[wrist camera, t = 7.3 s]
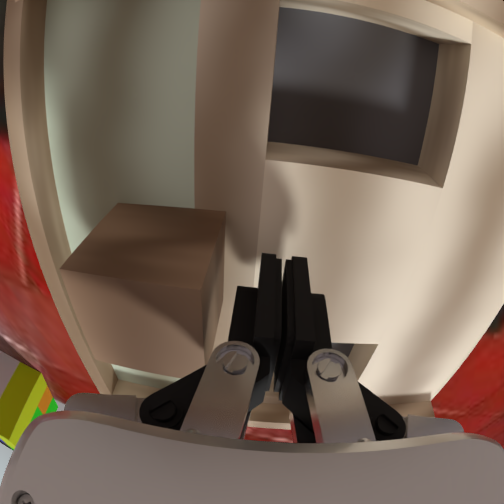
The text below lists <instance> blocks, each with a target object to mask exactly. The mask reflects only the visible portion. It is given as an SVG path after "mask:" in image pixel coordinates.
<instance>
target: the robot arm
mask: <svg viewBox="0 0 504 504" xmlns="http://www.w3.org/2000/svg"><path fill="white" fill-rule="evenodd" d="M273 373H274V387H273V391H274V392H279V400H280V401H282V404H283V405H284V406H285V407H286V408H287V409H289V419H290V425H291V432H292V438H293V443H281V442H264V441H252V440H244V436H245V433H246V429H247V426H248V422H249V419H250V415H251V411H252V410H253V409H254V408H255V407H257V406H258V405H260V404H261V403H263V401H264V396H265V392H266V391H269V390H270V386H271V381H272V377H273ZM0 504H504V449H503V448H502V446H501V445H500V444H499V443H498V442H497V441H495V440H493V439H491V438H489V437H486V436H483V435H479V434H473V433H464V430H463V428H462V426H461V425H460V424H459V423H458V422H457V421H454V420H451V419H441V418H432V417H424V416H416V415H409V414H408V415H407V416H406V417H404V416H401V415H400V414H399V413H398V412H397V411H396V410H395V409H394V408H392V407H391V406H390V405H388V404H387V403H386V402H384V401H383V400H382V399H380V398H379V397H378V396H376V395H375V394H374V393H372V392H371V391H370V390H369V389H367V388H366V387H365V386H363V385H362V384H361V383H359V382H358V381H357V378H356V375H355V372H354V369H353V366H352V363H351V362H350V360H349V358H348V357H347V356H346V355H345V354H343V353H341V352H340V351H337V350H334V349H332V343H331V335H330V328H329V320H328V313H327V306H326V300H325V295H324V294H316V293H311V288H310V279H309V270H308V261H307V258H306V257H297V256H292V258H291V260H288V259H286V261H285V267H284V273H283V279H282V259H279V258H276V254H268V253H262V255H261V264H260V272H259V281H258V288H255V287H245V286H237V290H236V296H235V301H234V307H233V313H232V319H231V325H230V330H229V336H228V341H227V342H224V343H222V344H220V345H218V346H217V347H216V348H215V349H214V350H213V352H212V353H211V356H210V358H209V361H208V363H207V365H205V366H203V367H201V368H200V369H198V370H196V371H194V372H192V373H190V374H189V375H187V376H185V377H183V378H181V379H179V380H177V381H176V382H174V383H172V384H170V385H168V386H166V387H164V388H162V389H160V390H158V391H157V392H155V393H153V394H151V395H149V396H148V397H147V398H137V397H136V395H111V394H93V393H78V394H75V395H73V396H71V397H70V398H69V400H68V401H67V402H66V405H65V408H64V411H57V412H51V413H46V414H43V415H40V416H38V417H37V418H35V419H34V420H33V421H32V422H31V423H30V424H29V425H28V426H27V428H26V429H25V430H24V432H23V434H22V435H21V437H20V439H19V441H18V442H17V445H16V447H15V449H14V451H13V453H12V456H11V458H10V460H9V463H8V466H7V468H6V471H5V474H4V476H3V479H2V483H1V486H0Z"/></svg>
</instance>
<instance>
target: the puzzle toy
mask: <svg viewBox="0 0 504 504" xmlns="http://www.w3.org/2000/svg"><path fill="white" fill-rule="evenodd" d="M57 408H58V406H57V404H56V402H55V400H54V399H53V397H52V395H51V393H50V391H49V388H48V386H47V384H46V382H45V380H44V378H43V376H42V374H41V373H40V372H38V371H36V370H35V369H33V368H31V367H29V366H27V365H25V364H23V363H21V362H20V361H18V360H16V359H14V358H12V357H11V356H9V355H7V354H5V353H4V352H2V351H0V442H1V443H2V444H4V445H5V446H7V447H8V448H10V449H12V450H13V451H14V449H15V447H16V445H17V442H18V441H19V439H20V437H21V435H22V434H23V432H24V430H25V429H26V428H27V426H28V425H29V424H30V423H31V422H32V421H33V420H34V419H35V418H37V417H38V416H40V415H43V414H46V413H51V412H56V410H57Z"/></svg>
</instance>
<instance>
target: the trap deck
mask: <svg viewBox="0 0 504 504" xmlns="http://www.w3.org/2000/svg"><path fill="white" fill-rule="evenodd" d="M4 90H5V105H6V116H7V125H8V133H9V141H10V148H11V154H12V160H13V165H14V171H15V176H16V181H17V185H18V190H19V194H20V198H21V203H22V207H23V210H24V214H25V218H26V222H27V225H28V229H29V232H30V236H31V239H32V242H33V245H34V248H35V251H36V254H37V257H38V260H39V263H40V266H41V269H42V272H43V274H44V277H45V280H46V282H47V285H48V288H49V290H50V293H51V295H52V298H53V300H54V303H55V305H56V307H57V310H58V312H59V314H60V317H61V319H62V321H63V323H64V325H65V328H66V330H67V332H68V334H69V336H70V338H71V340H72V342H73V344H74V346H75V348H76V350H77V352H78V354H79V356H80V358H81V360H82V362H83V364H84V366H85V368H86V369H87V371H88V373H89V375H90V377H91V378H92V380H93V382H94V384H95V385H96V387H97V389H98V391H99V392H100V394H111V395H136V397H137V398H147V397H148V396H149V395H151V394H153V393H155V392H157V391H158V390H160V389H162V388H164V387H166V386H168V385H170V384H172V383H174V382H176V381H177V380H179V379H181V378H175V377H170V376H164V375H159V374H154V373H149V372H144V371H140V370H135V369H131V368H126V367H122V366H118V365H114V364H110V363H106V362H102V361H98V360H95V358H94V356H93V354H92V351H91V349H90V347H89V345H88V343H87V340H86V338H85V336H84V333H83V331H82V329H81V326H80V324H79V321H78V319H77V317H76V314H75V311H74V309H73V306H72V304H71V301H70V298H69V296H68V293H67V290H66V287H65V284H64V282H63V279H62V276H61V273H60V270H59V268H60V267H61V266H62V265H63V264H64V262H65V261H66V260H67V259H68V258H69V256H70V255H71V254H72V253H73V252H74V250H75V249H76V248H77V247H78V246H79V245H80V244H81V242H82V241H83V240H84V239H85V238H86V237H87V236H88V234H89V233H90V232H91V231H92V230H93V229H94V228H95V227H96V226H97V224H98V223H99V222H100V221H101V220H102V219H103V218H104V217H105V216H106V215H107V214H108V213H109V212H110V211H111V210H112V208H113V207H114V206H115V205H116V204H117V203H127V204H142V205H156V206H169V207H182V208H194V209H205V210H217V211H226V226H225V255H224V291H223V304H222V308H221V313H220V318H219V322H218V327H217V332H216V337H215V341H214V346H213V350H214V349H215V348H216V347H217V346H218V345H220V344H222V343H224V342H227V341H228V336H229V330H230V325H231V319H232V313H233V307H234V301H235V296H236V290H237V286H245V287H255V288H258V281H259V272H260V264H261V255H262V253H268V254H276V258H279V259H282V279H283V273H284V267H285V261H286V259H288V260H291V258H292V256H297V257H306V258H307V261H308V270H309V279H310V288H311V293H316V294H324V295H325V300H326V306H327V313H328V320H329V328H330V335H331V343H332V349H334V350H337V351H340V352H341V353H343V354H345V355H346V356H347V357H348V358H349V360H350V362H351V363H352V366H353V369H354V372H355V375H356V378H357V381H358V382H359V383H361V384H362V385H363V386H365V387H366V388H367V389H369V390H370V391H371V392H372V393H374V394H375V395H376V396H378V397H379V398H380V399H382V400H383V401H384V402H386V403H387V404H388V405H390V406H391V407H392V408H394V409H395V410H396V411H397V412H398V413H399V414H400V415H401V416H404V417H406V416H407V415H408V414H409V415H416V416H424V417H432V418H434V417H435V416H434V412H433V408H432V404H431V400H432V399H433V398H434V397H435V395H436V394H437V393H438V392H439V391H440V390H441V389H442V387H443V386H444V385H445V384H446V383H447V382H448V380H449V379H450V378H451V377H452V376H453V374H454V373H455V372H456V371H457V369H458V368H459V367H460V366H461V364H462V363H463V362H464V361H465V359H466V358H467V357H468V355H469V354H470V353H471V351H472V350H473V349H474V347H475V346H476V344H477V343H478V342H479V340H480V339H481V337H482V336H483V334H484V333H485V332H486V330H487V329H488V327H489V326H490V324H491V323H492V321H493V320H494V318H495V316H496V315H497V313H498V312H499V310H500V309H501V307H502V305H503V304H504V1H502V0H7V8H6V18H5V32H4ZM212 352H213V351H212ZM273 387H274V373H273V377H272V381H271V386H270V390H269V391H266V392H265V396H264V401H263V403H261V404H260V405H258V406H257V407H255V408H254V409H253V410H252V411H251V415H250V419H249V422H248V426H249V427H260V428H274V429H291V425H290V419H289V409H287V408H286V407H285V406H284V405H283V404H282V401H280V400H279V392H274V391H273Z"/></svg>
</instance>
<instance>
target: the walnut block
mask: <svg viewBox="0 0 504 504" xmlns="http://www.w3.org/2000/svg"><path fill="white" fill-rule="evenodd" d="M225 226H226V211H217V210H205V209H194V208H182V207H169V206H156V205H142V204H127V203H117V204H116V205H115V206H114V207H113V208H112V210H111V211H110V212H109V213H108V214H107V215H106V216H105V217H104V218H103V219H102V220H101V221H100V222H99V223H98V224H97V226H96V227H95V228H94V229H93V230H92V231H91V232H90V233H89V234H88V236H87V237H86V238H85V239H84V240H83V241H82V242H81V244H80V245H79V246H78V247H77V248H76V249H75V250H74V252H73V253H72V254H71V255H70V256H69V258H68V259H67V260H66V261H65V262H64V264H63V265H62V266H61V267H60V268H59V270H60V273H61V276H62V279H63V282H64V284H65V287H66V290H67V293H68V296H69V298H70V301H71V304H72V306H73V309H74V311H75V314H76V317H77V319H78V321H79V324H80V326H81V329H82V331H83V333H84V336H85V338H86V340H87V343H88V345H89V347H90V349H91V351H92V354H93V356H94V358H95V360H98V361H102V362H106V363H110V364H114V365H118V366H122V367H126V368H131V369H135V370H140V371H144V372H149V373H154V374H159V375H164V376H170V377H175V378H183V377H185V376H187V375H189V374H190V373H192V372H194V371H196V370H198V369H200V368H201V367H203V366H205V365H207V363H208V361H209V358H210V356H211V353H212V351H213V346H214V341H215V337H216V332H217V327H218V322H219V318H220V313H221V308H222V304H223V291H224V255H225Z"/></svg>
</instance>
